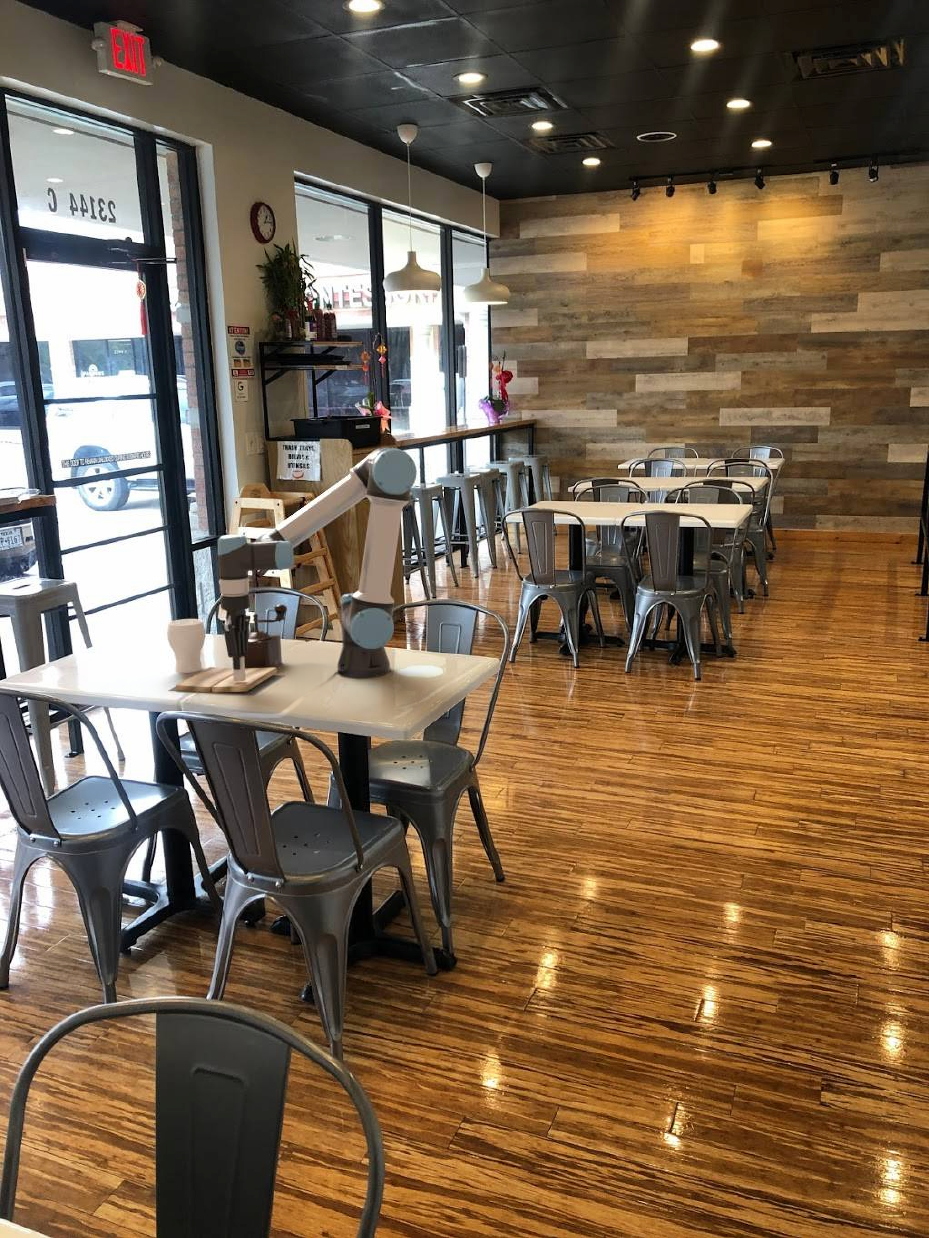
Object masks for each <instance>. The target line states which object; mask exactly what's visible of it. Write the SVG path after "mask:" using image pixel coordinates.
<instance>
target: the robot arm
mask: <svg viewBox="0 0 929 1238" xmlns="http://www.w3.org/2000/svg"><path fill="white" fill-rule="evenodd" d="M417 475H418V474H417V466H416V463H415V461H414V460H413V458H412V457H411V455H410V454H409V453H408V452H406V451H404V450H403V449H400V448H397V447H395V448H394V447H390V446H382V447H377V449H375V450H373V451H372V452H370V453H369V454H368V455H367V456H366V457H365V458H364V459H362V460H361V461H360V462H358V463H357V464H356V465H355V466H353V467H352V468H350V469H349V474H348V475H347V476H346V477H344V478H343V479H341V480H340V481H339V482H338V483H336V484H334V485H333V486H332V487H330V488H329V489H327V490H326V491H325V492H323V493H322V494H320V495H319V496H317V497H316V498H315V499H314V500H312V501H311V502H309V503H308V504H306V505H305V506H304V507H302V508H301V509H299V510H298V511H296V512H295V513H294V514H293V515H291V516H289V517H288V518H287V519H285V520H284V521H282V522H281V523H280V524H278V525H277V526H276V527H274V528H273V529H271V530H270V531H269V532H267V533H265V534H262V535H260V536H259V537H257V539H256V540H255V541H254V542H253V541H252V542H249V541H248V540H247V537H246V536H245V535H243V534H225V535H221V536H219V538H218V539H217V562H218V575H219V576H218V577H219V581H218V585H219V591H220V594H221V595H220V608H221V609H222V610H223V611H226V612H225V613H226V615H225V620H226V621H225V623H222V624H221V629H222V631H223V634H224V635H223V636H224V640H225V646H226V652H227V656H228V658H232V668H233V675H234V681H245V662H244V656H247V655H248V653H245V652H247V651H248V640H249V634H250V623H251V615H247V614H246V613H247V611H246V610H248V609H249V608H250V607H251V603H250V599H251V598H250V594H249V592H250V581H249V572H251V571H252V572H254V571H255V572H256V571H275V570H276V571H283V570H290V569H292V568H293V567H294V561H295V559H294V558H295V557H294V548H296V547H297V546H298V545H301V543H302V542H305V540H307V539H309V538H310V537H311V536H313V535H314V534H315V533H317V532H318V531H320V530H321V529H323V528H324V527H325V526H327V525H328V524H330V523H331V522H333V521H334V520H335V519H336V518H338V517H339V516H342V515H343V514H344V513H345V512H347V511H348V510H349V509H351V508H352V507H354V506H355V505H357V504H358V503H359V502H361V501H362V500H363V499H365V498H367V499H368V500H369V501H370V502H369V503H370V507H369V512H368V514H369V515H368V521H367V527H366V536H365V541H364V549H363V558H362V562H361V570H360V571H361V572H360V577H359V578H360V579H359V584H358V590H357V591H355V592H352V593H344V594H343V595H342V596H341V597H340V609H341V611H340V612H341V634H342V637H341V638H342V648H341V651H340V655H339V658H338V662H337V667H336V668H337V673H338V674H339V675H340V676H343V677H348V678H373V677H378V676H383V675H387V674H388V673H389V672H390V671H391V663H390V662H391V661H390V659H389V657H388V654H387V652H386V649H385V645H387V643H389V642H390V640H391V639H392V637H393V634H394V632H395V631H394V629H395V626H394V625H395V624H394V619H393V614H394V608H395V607H394V606H395V600H394V598H393V596H391V588H392V581H393V575H394V568H395V561H396V555H397V548H398V541H399V533H400V526H401V519H402V513H403V508H404V506H406V505H407V504H409V503H410V497H411V491H412V487H413V486H414V483H415V482H416V480H417Z"/></svg>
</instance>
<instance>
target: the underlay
mask: <svg viewBox="0 0 929 1238" xmlns="http://www.w3.org/2000/svg"><path fill="white" fill-rule="evenodd" d="M285 676H286V674H274V675H272V676H271V677H269V678H267V679H266V680H264V681H263V682H261V683H260V684H258V685H256V686H255V687H253V688H252V689H250V690H248V691H243V692H197V693H203V694H217V695H218V694H222V695H223V694H224V695H236V696H237V695H241V696H242V695H243V696H256V695H258V693H260V692H262V691H264V690H265V689H266V688H268V687H270V686H271V685H273V684H274V683H276V682H278V681H279V680H280V679H282V678H284V677H285ZM167 691H168V692H177V691H176V686H174V687H172V688H170V689H168V690H167ZM178 692H181V693H194V692H193V691H178Z"/></svg>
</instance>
